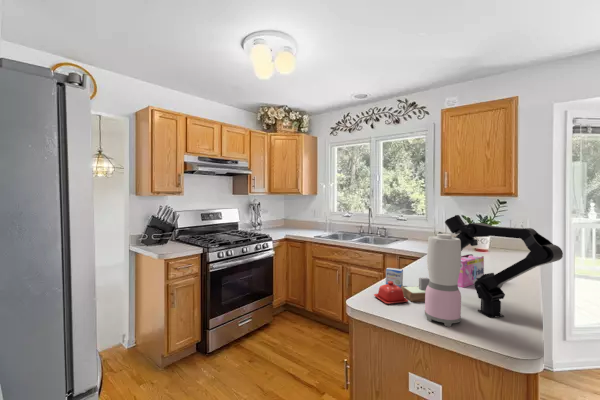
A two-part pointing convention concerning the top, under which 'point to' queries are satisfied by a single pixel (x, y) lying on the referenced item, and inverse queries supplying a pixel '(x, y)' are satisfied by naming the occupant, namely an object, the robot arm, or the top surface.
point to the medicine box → (394, 276)
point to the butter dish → (390, 293)
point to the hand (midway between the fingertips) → (435, 260)
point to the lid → (422, 286)
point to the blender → (443, 279)
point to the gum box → (470, 270)
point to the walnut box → (413, 295)
